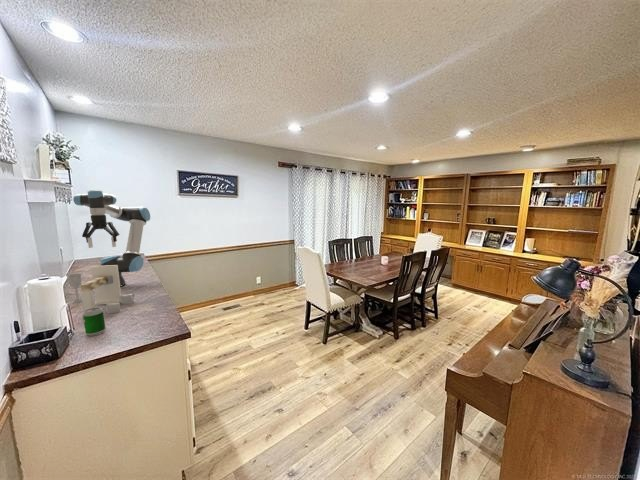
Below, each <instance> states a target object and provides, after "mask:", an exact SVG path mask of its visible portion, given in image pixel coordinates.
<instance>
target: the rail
mask: <svg viewBox="0 0 640 480" xmlns="http://www.w3.org/2000/svg"><path fill="white" fill-rule="evenodd" d="M107 277H108V276H99V277H97V278H95V279H93V278H92V279H90V280H88V281H85V282H84V283H81V284H80V287H79V288H80V292H84V291H91V290H93V291H94V289H95V288H97V287H99V286H101V285H103V284H105V283H107V282H108V280H107Z"/></svg>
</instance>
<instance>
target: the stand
mask: <svg viewBox="0 0 640 480" xmlns="http://www.w3.org/2000/svg"><path fill="white" fill-rule="evenodd" d="M120 298H121V302H120V303H108V304H105V311H106V312H105V313H106V314H112V313H113V314H115V313H118V314H119V312H121V305H122V304H132V303H134V302H135V301H134V294H133V293H129V294H121V296H120Z"/></svg>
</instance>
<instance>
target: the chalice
mask: <svg viewBox="0 0 640 480" xmlns="http://www.w3.org/2000/svg"><path fill="white" fill-rule="evenodd" d="M66 277H67V280H68V285H69V286H70V287H71V288H72V289H73V290H74V293H75V298H74V299H73V302H72V303H73V304H78V303H83V300H82V297H79V294H80V293H79V291H78V289H79V288H81V287H80V285H81V284H82V273H80V272H79V273H78V272H77V273H71V274H66Z"/></svg>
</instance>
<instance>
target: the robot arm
mask: <svg viewBox="0 0 640 480" xmlns="http://www.w3.org/2000/svg"><path fill="white" fill-rule="evenodd" d="M72 201H73V203H74V204H75V205H76V206H82V207H83V206H85V207H87V208H89V211H90V212H89V213H90V220H91V222H86V223H85V228H84V230H83V233H82V235H81V237H82V238H85V240H86V243H87V245H88V246H87V247H88V249H91V248H94V247H93V246H94V245H93V238H92V235H93V234H94V232H95V231H96V230H105V231H106V232H107V233H108V235H110V236H111V247H112V248H115V247H117V243H116V242H117V241H118V239H117V237H119V236H120V233H119V231H118V230H117V229H116V227H115V226H114V225H113V224H114V223H113V221H108V222H107V215H109V217H111V218H113V219H116V220H119V221H124V222H128V223H129V224H130V227H129V231H128V232H129V233H128V237H127V243H126V249H125V252H123V254H122V256H120V255H119V254H114V255H111V256H110V255H109V256H106V257H105V256H104V257H102V258H101V259H100V265H99V266H106V265H118V271H119V279H120V286H121V285H124V284H125V283H126V280H125V277H124V276H123V274H122V273H134V272H136V273H137V272H139V271H140V270H142V269H143V266H144V262H145V261H144V258H143V257H142V255H141V254H140V250H141V244H142V239H143V238H142V237H143V230H144V226H145V225H146V224H147V222H149V221H150V220H151V213H150V211H149V209H148V208H147V207H145V206H125V207H124V206H118V205H115V204H116V203H117V197H116V196H115V195H114V194H111V193H104V192H103V191H102V190H99V189H98V190H97V189H96V190H95V189H94V190H88V191H87V193H77V194H74V196H73V199H72ZM91 226H92V227H91ZM125 285H126V284H125ZM125 285H124V286H125ZM121 287H122V286H121Z"/></svg>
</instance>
